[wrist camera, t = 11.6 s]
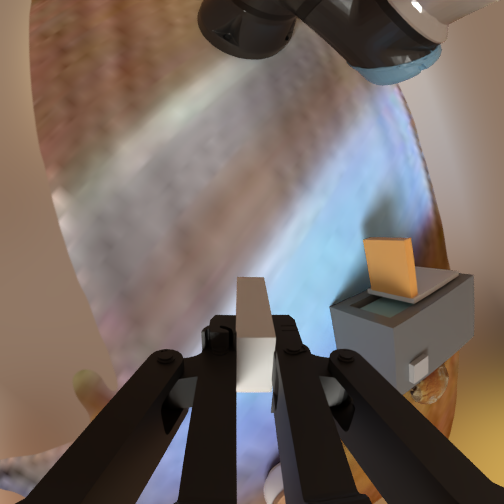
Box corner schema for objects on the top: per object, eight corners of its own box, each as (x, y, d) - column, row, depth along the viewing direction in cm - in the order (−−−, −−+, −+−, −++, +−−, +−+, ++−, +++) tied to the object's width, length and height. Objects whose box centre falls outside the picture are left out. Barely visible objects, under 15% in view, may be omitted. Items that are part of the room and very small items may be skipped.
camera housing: (329, 306, 47) (398, 330, 33) (417, 265, 54) (482, 272, 40) (339, 366, 49) (401, 401, 34) (422, 317, 55) (482, 333, 41)
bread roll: (411, 394, 62) (439, 405, 56) (401, 401, 54) (433, 413, 49) (426, 356, 62) (455, 365, 57) (418, 358, 55) (452, 368, 50)
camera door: (358, 239, 46) (406, 240, 37) (407, 222, 50) (453, 221, 40) (367, 293, 47) (414, 303, 38) (415, 270, 51) (458, 275, 42)
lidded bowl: (312, 436, 48) (347, 469, 37) (318, 477, 49) (348, 508, 39) (246, 464, 44) (272, 505, 33) (260, 503, 45) (284, 540, 35)
